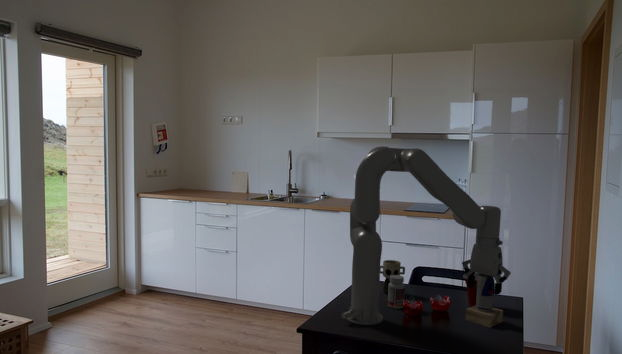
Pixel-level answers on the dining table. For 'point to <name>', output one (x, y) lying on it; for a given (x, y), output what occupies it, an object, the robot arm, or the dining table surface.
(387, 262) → the character mug
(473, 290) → the plastic cup
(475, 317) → the oak block
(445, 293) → the dining table surface
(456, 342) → the dining table surface
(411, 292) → the dining table surface
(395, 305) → the pill bottle
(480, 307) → the energy drink
